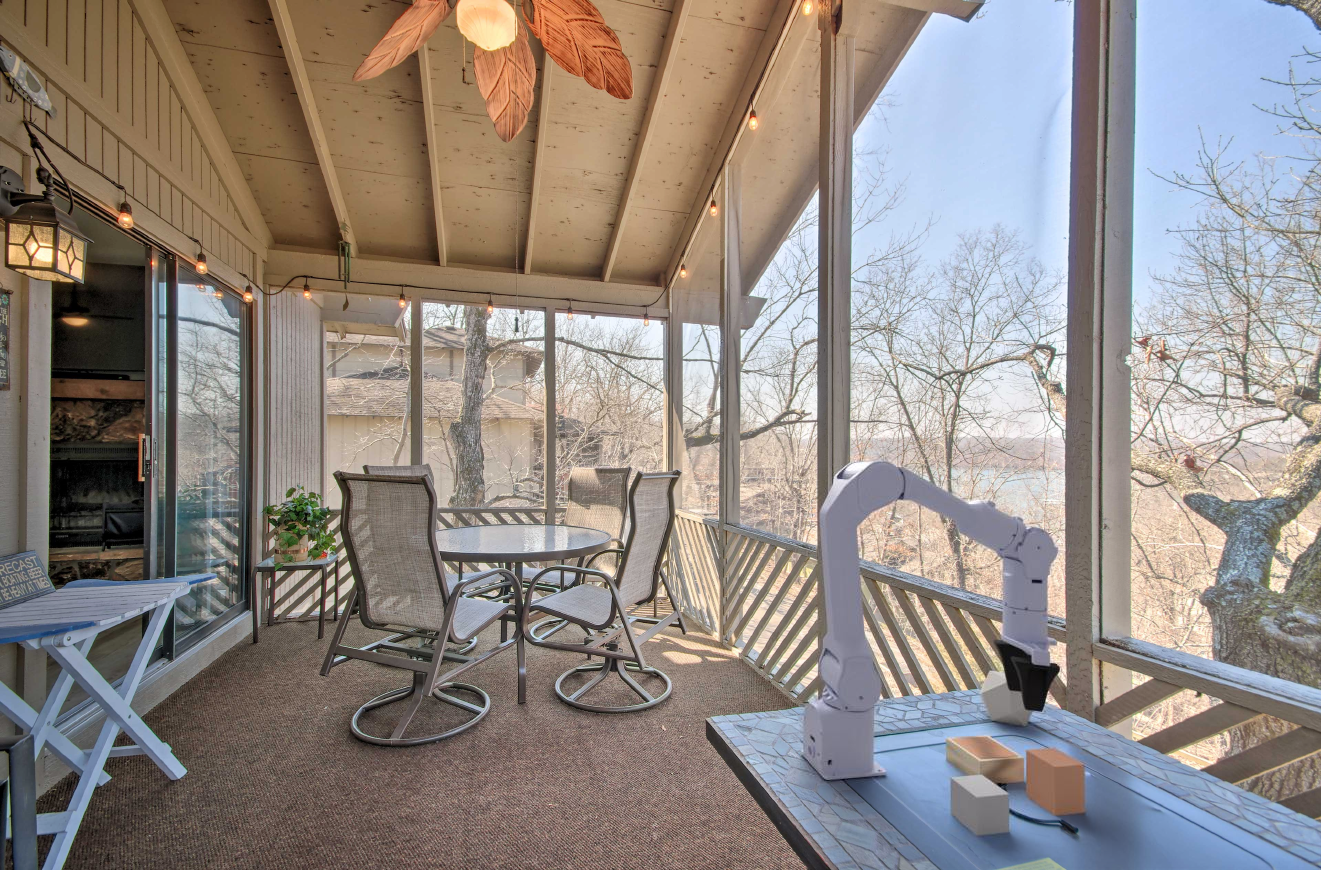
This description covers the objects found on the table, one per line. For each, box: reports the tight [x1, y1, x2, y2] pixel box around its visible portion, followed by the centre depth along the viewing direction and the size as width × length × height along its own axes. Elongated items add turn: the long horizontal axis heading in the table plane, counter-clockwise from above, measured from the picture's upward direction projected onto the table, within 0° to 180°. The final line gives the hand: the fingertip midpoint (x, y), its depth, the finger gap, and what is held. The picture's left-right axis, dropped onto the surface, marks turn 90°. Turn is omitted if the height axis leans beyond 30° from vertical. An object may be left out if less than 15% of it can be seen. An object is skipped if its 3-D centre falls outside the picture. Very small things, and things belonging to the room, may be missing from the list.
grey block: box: [950, 775, 1010, 837], centre depth 73 cm, size 4×4×4 cm
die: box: [978, 670, 1034, 728], centre depth 103 cm, size 8×9×10 cm
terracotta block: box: [1025, 747, 1086, 816], centre depth 77 cm, size 4×4×6 cm
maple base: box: [945, 734, 1025, 785], centre depth 86 cm, size 7×7×4 cm
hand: (1024, 699), depth 88 cm, fingers open, 7 cm apart
